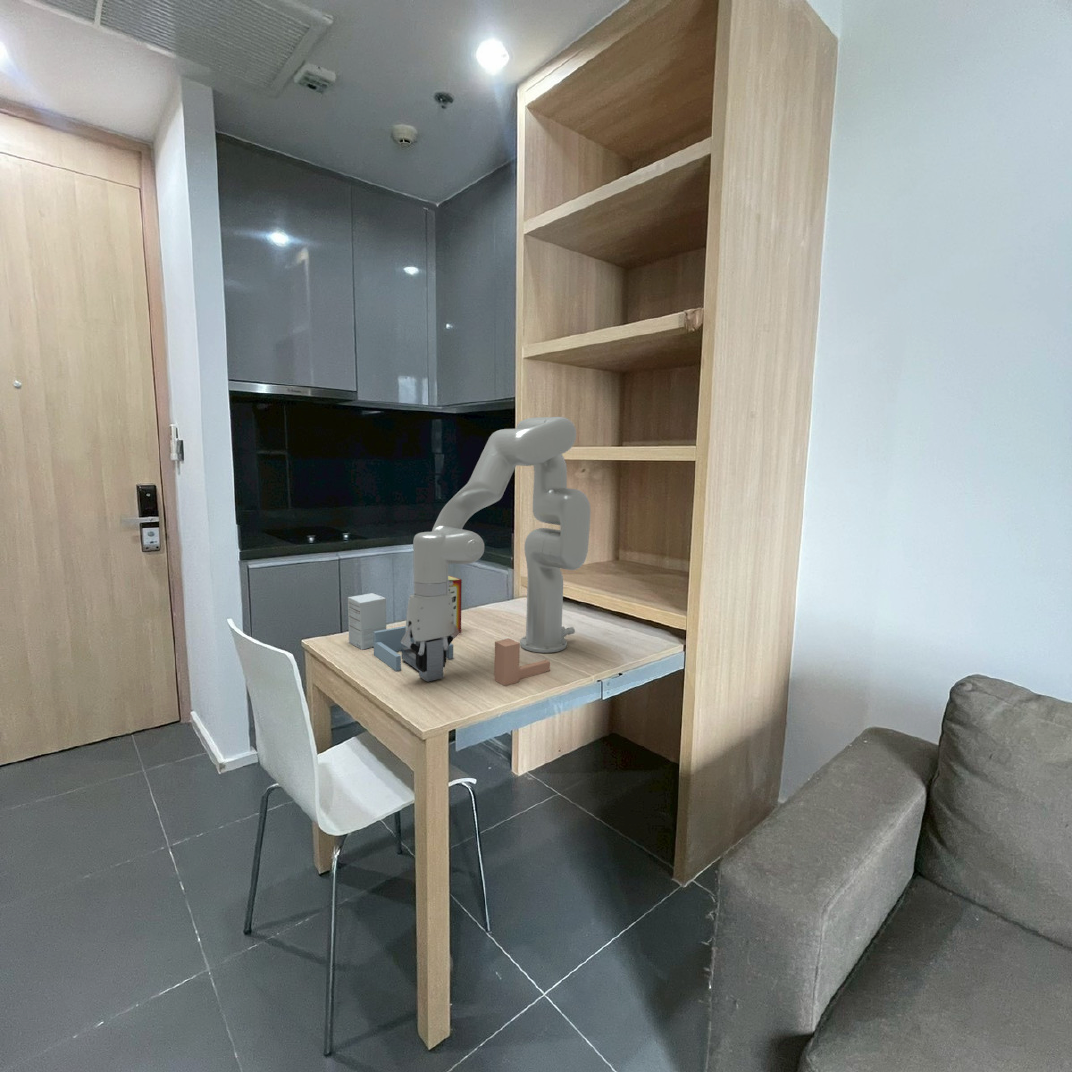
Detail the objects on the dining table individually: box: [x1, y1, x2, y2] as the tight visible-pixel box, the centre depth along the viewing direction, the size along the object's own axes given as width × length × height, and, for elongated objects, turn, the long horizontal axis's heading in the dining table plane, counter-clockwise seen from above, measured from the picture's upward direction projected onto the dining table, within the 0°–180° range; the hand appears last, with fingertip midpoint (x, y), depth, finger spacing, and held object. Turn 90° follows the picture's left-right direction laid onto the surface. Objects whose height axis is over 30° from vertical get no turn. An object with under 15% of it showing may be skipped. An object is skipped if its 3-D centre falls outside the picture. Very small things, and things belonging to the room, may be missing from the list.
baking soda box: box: [448, 574, 463, 635], centre depth 156 cm, size 10×6×16 cm
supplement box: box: [347, 592, 387, 651], centre depth 147 cm, size 7×7×13 cm
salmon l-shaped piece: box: [493, 638, 551, 687], centre depth 128 cm, size 14×4×9 cm, turn 128°
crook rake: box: [400, 638, 444, 682], centre depth 131 cm, size 16×10×9 cm, turn 38°
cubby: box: [373, 625, 454, 672], centre depth 139 cm, size 15×13×6 cm
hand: (431, 667), depth 125 cm, fingers closed on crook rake, 4 cm apart
